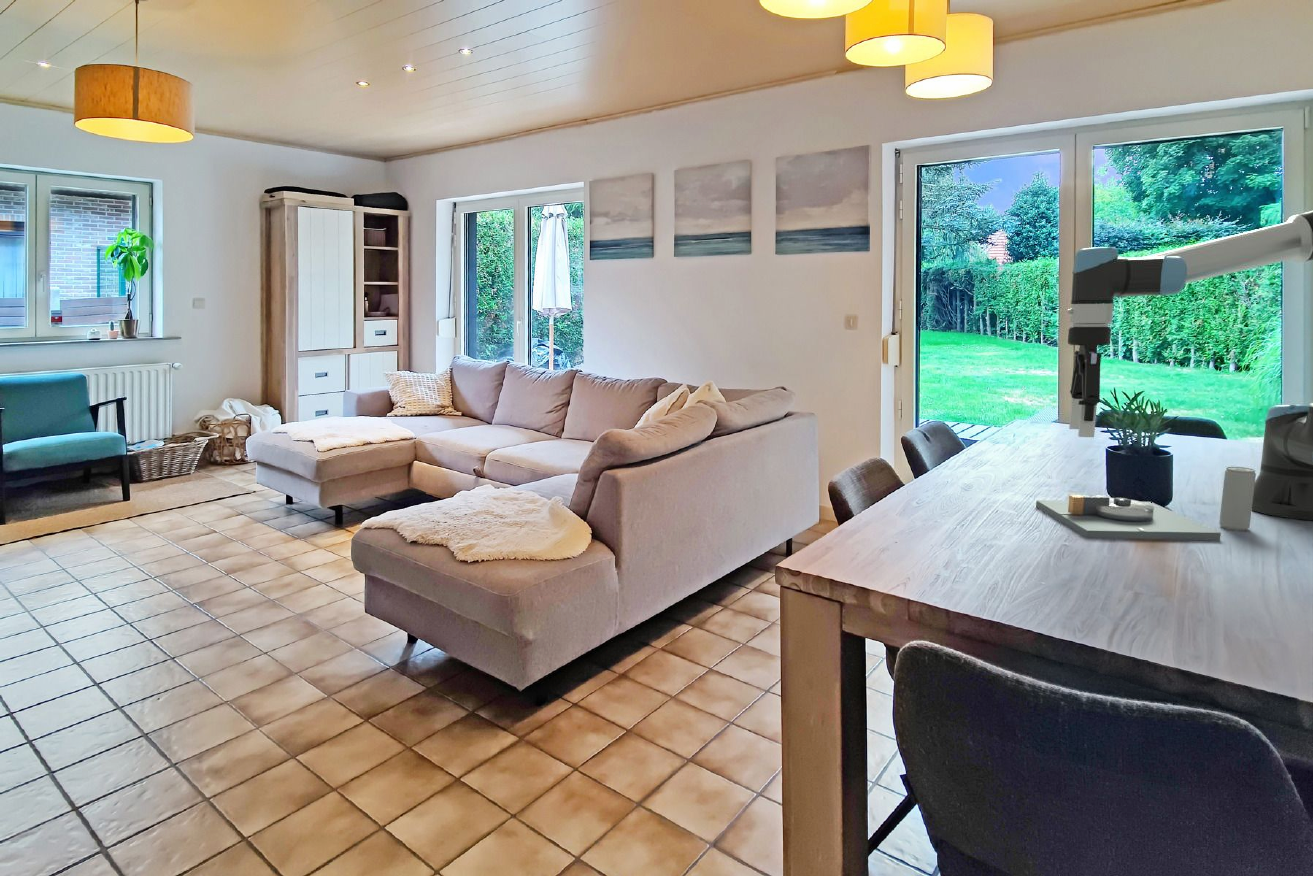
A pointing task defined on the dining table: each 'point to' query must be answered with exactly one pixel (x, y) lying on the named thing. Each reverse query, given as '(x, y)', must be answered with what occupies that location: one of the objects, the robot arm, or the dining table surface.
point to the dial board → (1130, 524)
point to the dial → (1110, 507)
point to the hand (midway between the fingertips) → (1081, 432)
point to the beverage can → (1237, 498)
